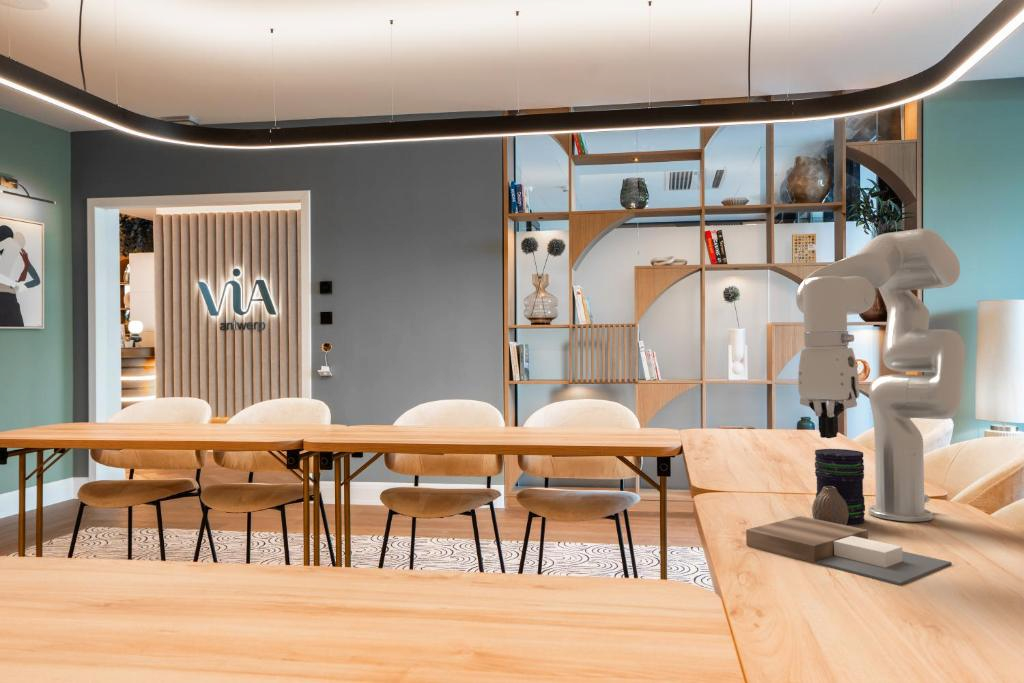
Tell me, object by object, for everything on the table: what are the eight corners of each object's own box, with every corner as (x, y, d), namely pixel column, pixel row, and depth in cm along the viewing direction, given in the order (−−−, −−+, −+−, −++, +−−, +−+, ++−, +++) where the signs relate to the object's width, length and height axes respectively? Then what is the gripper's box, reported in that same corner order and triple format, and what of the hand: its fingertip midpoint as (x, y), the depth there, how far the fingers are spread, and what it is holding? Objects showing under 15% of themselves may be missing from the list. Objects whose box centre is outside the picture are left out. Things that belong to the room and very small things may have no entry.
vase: (805, 527, 145) (804, 485, 145) (828, 523, 148) (827, 482, 148) (832, 535, 139) (831, 491, 139) (856, 531, 141) (855, 488, 142)
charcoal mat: (870, 546, 130) (870, 544, 130) (951, 564, 119) (951, 562, 119) (817, 563, 120) (816, 561, 120) (899, 585, 109) (899, 582, 109)
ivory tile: (851, 549, 127) (851, 535, 127) (902, 561, 120) (902, 546, 120) (834, 555, 124) (833, 541, 124) (885, 567, 116) (884, 552, 116)
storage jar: (828, 512, 158) (827, 447, 158) (873, 520, 150) (872, 451, 150) (807, 519, 151) (806, 451, 152) (852, 528, 144) (851, 456, 144)
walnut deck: (800, 530, 142) (800, 516, 142) (868, 545, 131) (867, 529, 131) (746, 545, 132) (746, 529, 132) (814, 563, 120) (814, 545, 120)
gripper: (875, 340, 127) (878, 438, 127) (799, 341, 139) (802, 431, 139) (854, 341, 123) (858, 443, 123) (778, 342, 135) (781, 435, 135)
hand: (828, 437), depth 131 cm, fingers closed
